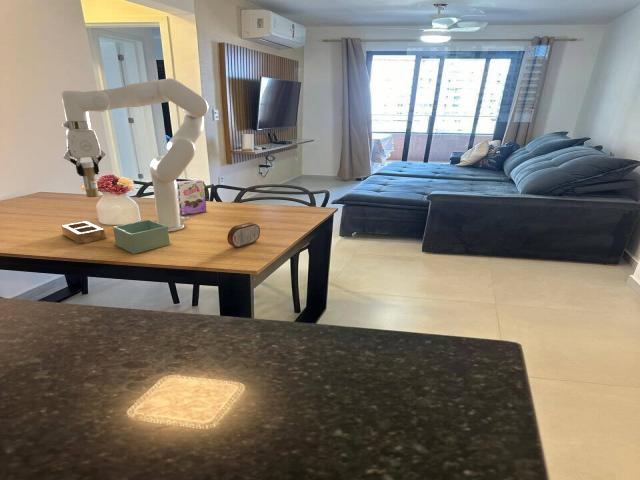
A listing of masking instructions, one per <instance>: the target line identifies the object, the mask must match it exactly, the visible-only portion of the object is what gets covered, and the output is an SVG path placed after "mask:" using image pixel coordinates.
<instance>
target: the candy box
mask: <svg viewBox="0 0 640 480" xmlns="http://www.w3.org/2000/svg"><path fill="white" fill-rule="evenodd" d="M176 185H177V194H178V205H179V215H180V217H183V216H190V215H195V214H203V213H207V202H206V187H205V181H204V180H202V179H193V180H183V181H176Z"/></svg>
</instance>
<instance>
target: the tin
mask: <svg viewBox="0 0 640 480" xmlns="http://www.w3.org/2000/svg"><path fill="white" fill-rule="evenodd" d="M260 236H261V228H260V226H259V225H258V224H256V223H254V222H252V221H251V222H246V223H242V224H237V225H234V226H233V227H231V228H230V230H229V231H228V233H227V238H226V240H227V243H228V244H229V245H230V246H231V247H235V248H240V247H244V246H248V245H251V244H254V243H256V242H257V241H258V239H259V238H260Z"/></svg>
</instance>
